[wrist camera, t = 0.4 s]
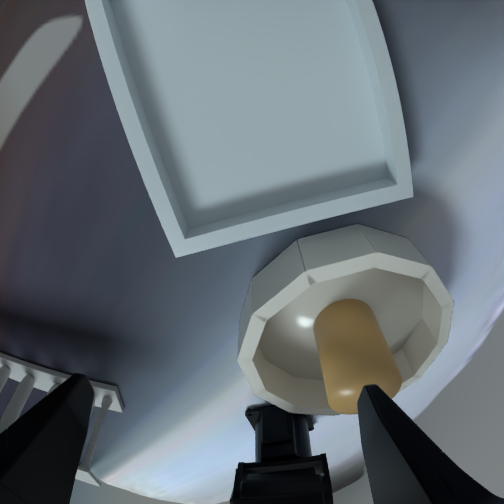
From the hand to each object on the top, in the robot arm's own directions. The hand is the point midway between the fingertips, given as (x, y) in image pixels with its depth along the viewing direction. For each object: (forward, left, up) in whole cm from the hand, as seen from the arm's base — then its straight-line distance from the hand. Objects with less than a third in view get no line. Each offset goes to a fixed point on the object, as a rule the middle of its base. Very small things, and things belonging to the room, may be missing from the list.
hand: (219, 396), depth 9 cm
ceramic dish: (-10, -6, -13) cm, 18 cm away
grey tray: (+9, -4, -13) cm, 16 cm away
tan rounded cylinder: (-10, -6, -13) cm, 17 cm away
